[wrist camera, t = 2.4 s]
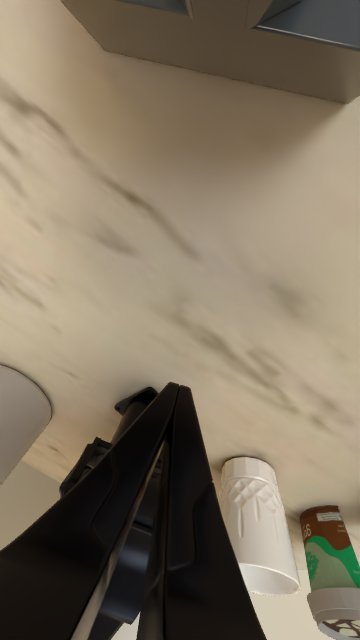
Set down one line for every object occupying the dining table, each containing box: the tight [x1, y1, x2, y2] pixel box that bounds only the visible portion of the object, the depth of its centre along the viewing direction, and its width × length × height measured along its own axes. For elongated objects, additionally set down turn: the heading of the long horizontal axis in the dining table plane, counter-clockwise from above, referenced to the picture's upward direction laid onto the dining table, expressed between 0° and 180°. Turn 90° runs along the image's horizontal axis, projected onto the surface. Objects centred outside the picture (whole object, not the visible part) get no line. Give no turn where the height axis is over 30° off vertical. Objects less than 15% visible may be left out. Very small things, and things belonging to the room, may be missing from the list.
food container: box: [300, 506, 360, 640], centre depth 30 cm, size 12×6×10 cm, turn 17°
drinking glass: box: [219, 457, 301, 596], centre depth 26 cm, size 8×8×10 cm
